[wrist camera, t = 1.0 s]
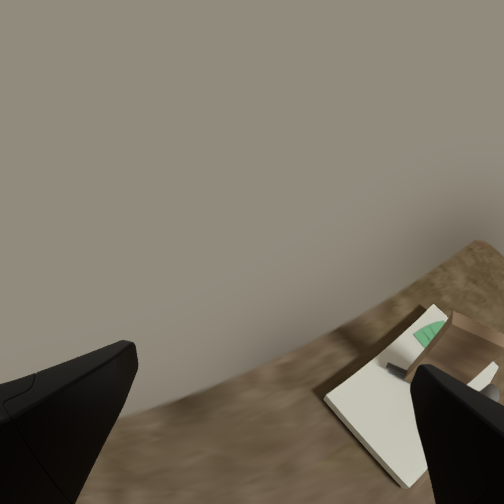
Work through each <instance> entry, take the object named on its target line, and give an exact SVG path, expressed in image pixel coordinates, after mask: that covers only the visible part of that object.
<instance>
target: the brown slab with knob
mask: <svg viewBox="0 0 504 504" xmlns="http://www.w3.org/2000/svg"><path fill="white" fill-rule="evenodd" d="M503 351H504V334H502V333H500V332H498V331H495V330H493V329H491V328H489V327H487V326H485V325H483V324H480V323H478V322H476V321H474V320H472V319H470V318H467V317H465V316H463V315H461V314H459V313H457V312H454V311H453V312H452V314H451V315H450V317H449V318H448V319H447V321H446V322H445V323H444V325H443V326H442V327H441V329H440V330H439V331H438V333H437V334H436V335H435V336H434V338H433V339H432V340H431V342H430V343H429V344H428V345H427V346H426V348H425V349H424V350H423V351H422V353H421V354H420V355H419V356H418V357H417V358H416V360H415V361H414V362H413V363H412V364H411V365H410V367H409V368H408V369H407V370H405V369H403V368H400V367H398V366H396V365H393V364H391V363H389V362H388V363H387V365H386V368H388V369H390V370H392V371H395V372H397V373H399V374H402V375H404V376H405V379H404V380H406V381H409V382H412V379H413V377H414V374H415V372H416V369H417V367H418V366H419V365H420V364H432V365H433V366H435V367H437V368H439V369H440V370H442V371H444V372H446V373H447V374H449V375H451V376H452V377H454V378H456V379H458V380H459V381H461V382H463V383H465V384H466V385H467V384H468V383H469V382H471V381H472V380H473V379H474V378H475V377H476V376H478V375H479V374H480V373H481V372H482V371H483V370H484V369H485V368H486V367H487V366H488V365H490V364H491V363H492V362H493V361H494V360H495V359H496V358H497V357H498V356H499V355H500V354H501V353H502V352H503ZM478 392H480V393H482V394H484V395H485V396H487V397H489V398H491V399H492V400H494V401H496V402H498V400H499V396H500V395H499V390H498V388H497V387H496V386H495V385H494V384H488V385H487V386H485V387H484V388H483V389H482V390H481V391H478Z"/></svg>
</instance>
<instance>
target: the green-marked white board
mask: <svg viewBox="0 0 504 504" xmlns="http://www.w3.org/2000/svg"><path fill="white" fill-rule="evenodd" d="M447 319H448V317H447V316H446V315H445V314H444V313H443V312H442V311H440V310H439V309H438V308H437V307H436V306H435V305H434V304H433V305H432V306H431V307H430V308H429V309H428V310H427V311H426V312H425V313H424V314H423V315H422V316H421V317H420V318H419V319H418V320H417V321H415V322H414V323H413V324H412V325H411V326H410V327H409V328H408V329H407V330H406V331H405V332H404V333H403V334H401V335H400V336H399V337H398V338H397V339H396V340H395V341H394V342H392V343H391V344H390V345H389V346H388V347H387V348H386V349H384V350H383V351H382V352H381V353H380V354H379V355H377V356H376V357H375V358H374V359H372V360H371V361H370V362H369V363H368V364H366V365H365V366H364V367H363V368H361V369H360V370H359V371H358V372H356V373H355V374H354V375H352V376H351V377H350V378H348V379H347V380H346V381H345V382H343V383H342V384H340V385H339V386H338V387H336V388H335V389H334V390H332V391H331V392H330V393H328V394H327V395H326V396H325V397H324V399H323V400H324V401H325V402H326V403H327V404H328V406H329V407H330V408H331V409H332V410H333V411H334V413H335V414H336V415H337V416H338V417H339V418H340V420H341V421H342V422H343V423H344V424H345V425H346V426H347V428H348V429H349V430H350V431H351V432H352V433H353V434H354V436H355V437H356V438H357V439H358V440H359V441H360V442H361V443H362V445H363V446H364V447H365V448H366V449H367V450H368V451H369V452H370V453H371V455H372V456H373V457H374V458H375V459H376V460H377V461H378V462H379V463H380V465H381V466H382V467H383V468H384V469H385V470H386V471H387V472H388V473H389V474H390V475H391V476H392V478H393V479H394V480H395V481H396V482H397V483H398V484H399V485H400V486H401V487H402V488H403V489H406V488H409V487H410V486H411V485H412V484H413V483H414V482H415V481H416V480H417V479H418V478H419V477H420V476H421V475H422V474H423V473H424V472H425V471H426V469H427V468H428V467H427V463H426V459H425V455H424V452H423V448H422V444H421V441H420V437H419V434H418V430H417V425H416V420H415V415H414V409H413V404H412V399H411V394H410V384H411V382H409V381H406V380H404V379H405V376H404V375H402V374H399V373H397V372H395V371H392V370H390V369H388V368H386V365H387V363H388V362H389V363H391V364H393V365H396V366H398V367H400V368H403V369H405V370H407V369H408V368H409V367H410V365H411V364H412V363H413V362H414V361H415V360H416V358H417V357H418V356H419V355H420V354H421V353H422V351H423V350H424V349H425V348H426V346H427V345H428V344H429V343H430V342H431V340H432V339H433V338H434V336H435V335H436V334H437V333H438V331H439V330H440V329H441V327H442V326H443V325H444V323H445V322H446V321H447ZM497 369H498V366H497V365H496V364H495V363H494V362H492V363H491V364H490V365H488V366H487V367H486V368H485V369H484V370H483V371H482V372H481V373H480V374H479V375H478V376H476V377H475V378H474V379H473V380H472V381H471V382H469V383H468V384H467V385H468V386H470V387H471V388H473V389H475V390H477V391H481V390H482V389H483V388H484V387H485V386H487V385H488V384H489V383H490V382H491V380H492V378H493V376H494V375H495V373H496V371H497Z"/></svg>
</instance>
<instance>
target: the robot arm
mask: <svg viewBox="0 0 504 504" xmlns="http://www.w3.org/2000/svg"><path fill="white" fill-rule="evenodd" d="M137 370H138V358H137V353H136V346H135V344H134V343H133V342H130V341H126V340H121V341H118V342H116V343H113V344H111V345H108V346H106V347H103V348H101V349H98V350H96V351H93V352H90V353H88V354H85V355H83V356H80V357H77V358H75V359H72V360H69V361H67V362H64V363H61V364H59V365H56V366H53V367H50V368H48V369H45V370H42V371H40V372H37V373H36V374H35V373H34V374H31V375H28V376H25V377H23V378H19V379H17V380H13V381H10V382H6V383H3V384H0V504H75V503H76V501H77V498H78V496H79V494H80V492H81V490H82V488H83V486H84V484H85V482H86V480H87V477H88V475H89V473H90V471H91V469H92V467H93V465H94V463H95V461H96V459H97V457H98V455H99V453H100V451H101V449H102V447H103V445H104V443H105V441H106V439H107V437H108V435H109V433H110V431H111V430H112V428H113V426H114V424H115V422H116V420H117V418H118V416H119V414H120V412H121V410H122V408H123V406H124V403H125V401H126V398H127V396H128V393H129V391H130V388H131V386H132V383H133V380H134V378H135V375H136V373H137ZM410 394H411V399H412V404H413V409H414V415H415V420H416V425H417V430H418V434H419V437H420V441H421V444H422V448H423V452H424V455H425V459H426V463H427V467H428V471H429V475H430V480H431V484H432V489H433V493H434V498H435V503H436V504H504V406H503V405H501V404H499V403H498V402H496V401H494V400H492V399H491V398H489V397H487V396H485V395H484V394H482V393H480V392H478V391H477V390H475V389H473V388H471V387H470V386H468V385H466V384H465V383H463V382H461V381H459V380H458V379H456V378H454V377H452V376H451V375H449V374H447V373H446V372H444V371H442V370H440V369H439V368H437V367H435V366H433V365H432V364H420V365H419V366H418V367H417V369H416V372H415V374H414V377H413V379H412V382H411V384H410Z"/></svg>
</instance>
